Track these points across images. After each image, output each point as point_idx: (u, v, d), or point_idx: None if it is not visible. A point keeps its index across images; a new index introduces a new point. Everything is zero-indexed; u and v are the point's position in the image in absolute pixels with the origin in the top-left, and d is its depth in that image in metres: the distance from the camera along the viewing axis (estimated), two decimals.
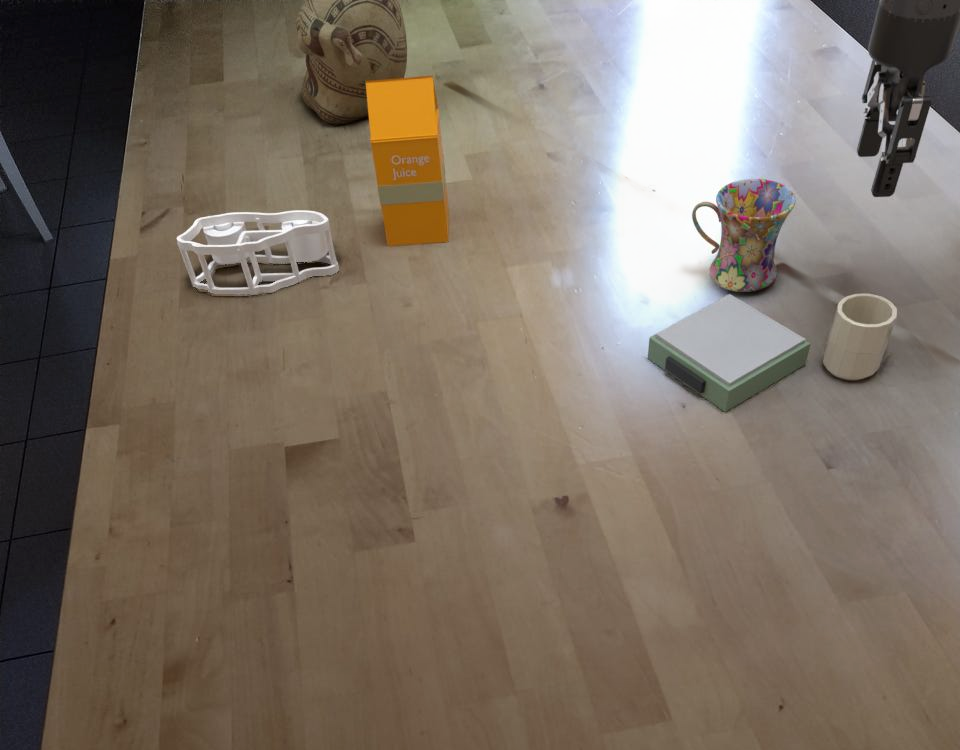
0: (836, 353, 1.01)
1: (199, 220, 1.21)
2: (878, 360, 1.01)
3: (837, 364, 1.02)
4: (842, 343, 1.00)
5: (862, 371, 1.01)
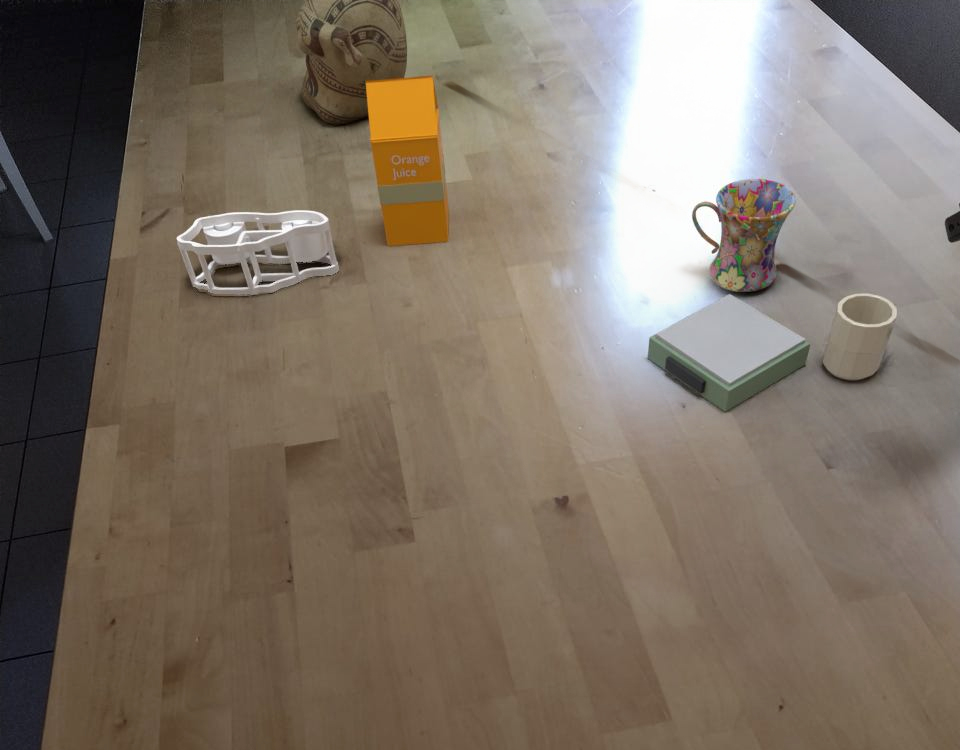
0: (836, 353, 1.01)
1: (199, 220, 1.21)
2: (878, 360, 1.01)
3: (837, 364, 1.02)
4: (842, 343, 1.00)
5: (862, 371, 1.01)
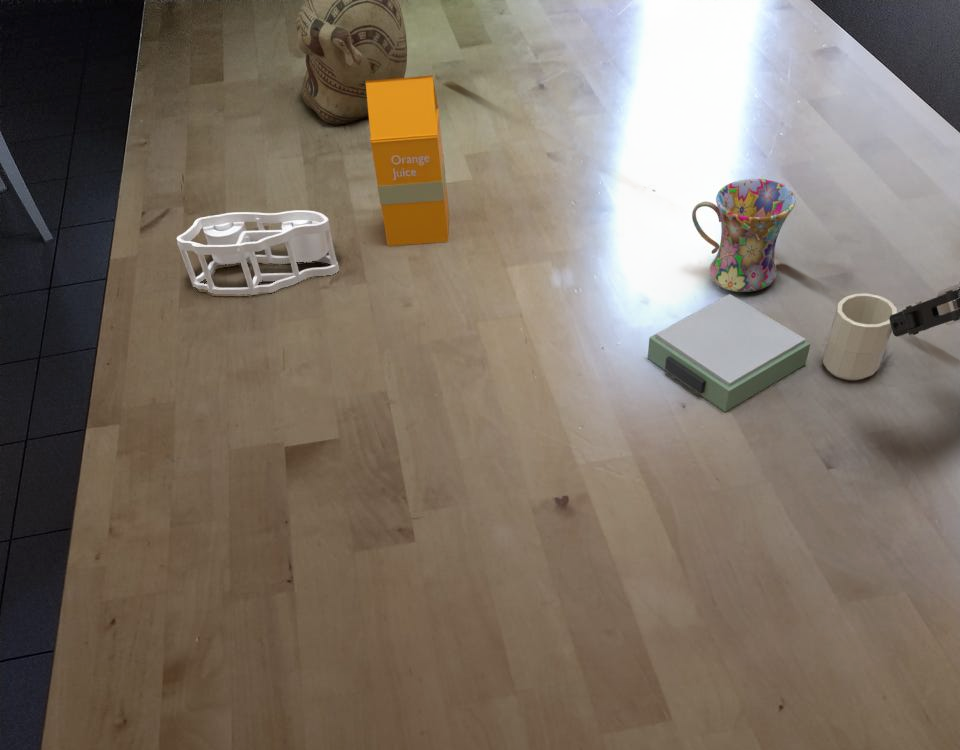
0: (836, 353, 1.01)
1: (199, 220, 1.21)
2: (878, 360, 1.01)
3: (837, 364, 1.02)
4: (842, 343, 1.00)
5: (862, 371, 1.01)
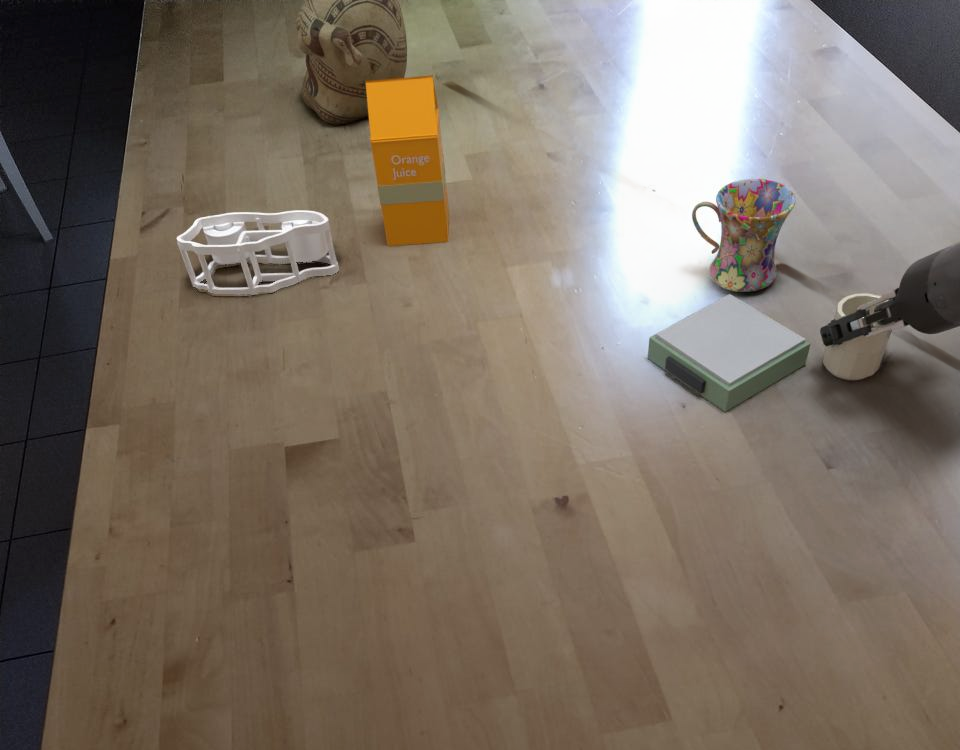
0: (836, 353, 1.01)
1: (199, 220, 1.21)
2: (878, 360, 1.01)
3: (837, 364, 1.02)
4: None
5: (862, 371, 1.01)
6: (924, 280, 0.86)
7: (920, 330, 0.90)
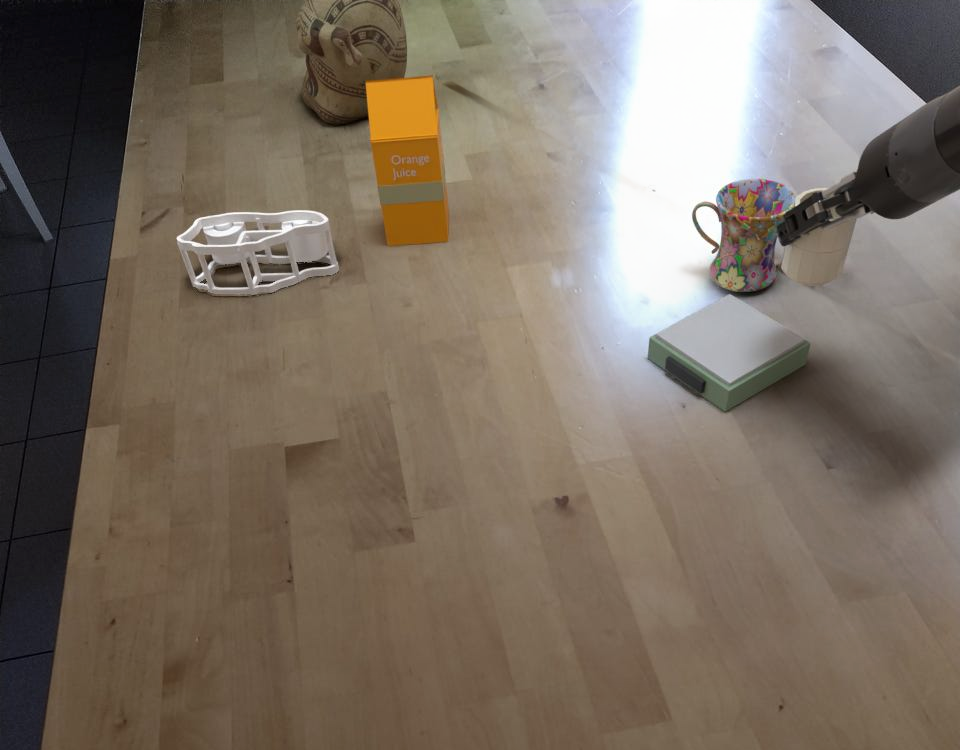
0: (794, 254, 0.92)
1: (199, 220, 1.21)
2: (840, 261, 0.92)
3: (796, 267, 0.93)
4: (800, 241, 0.91)
5: (823, 274, 0.92)
6: (885, 152, 0.77)
7: (882, 214, 0.81)
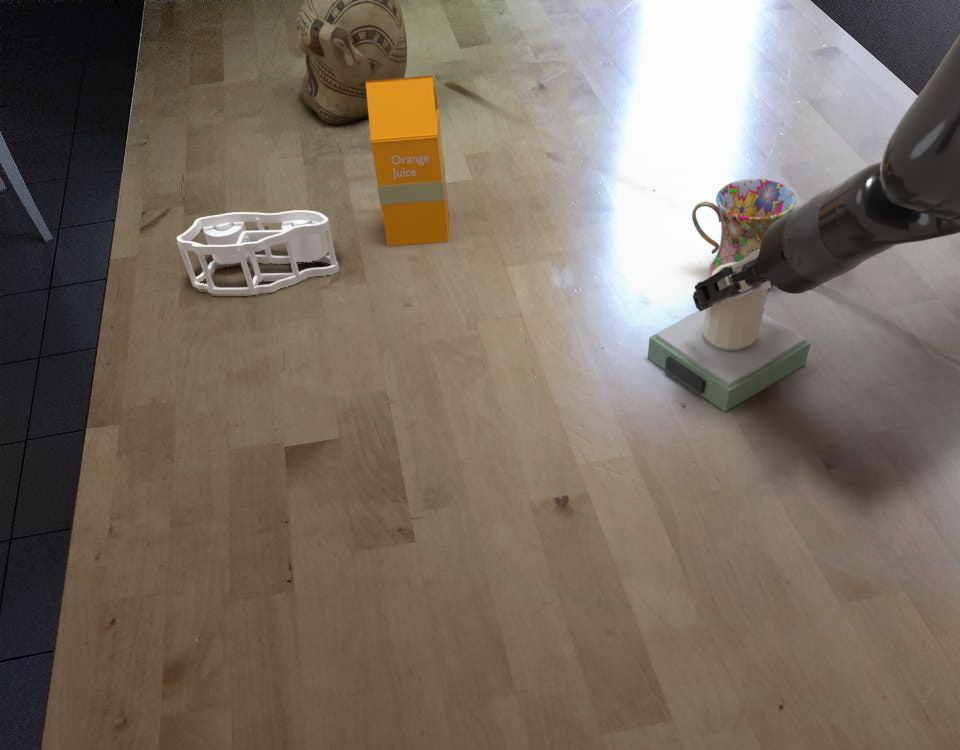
0: (712, 322, 1.00)
1: (199, 220, 1.21)
2: (754, 329, 1.00)
3: (714, 333, 1.01)
4: (716, 312, 0.99)
5: (739, 340, 1.01)
6: (780, 237, 0.84)
7: (783, 289, 0.88)
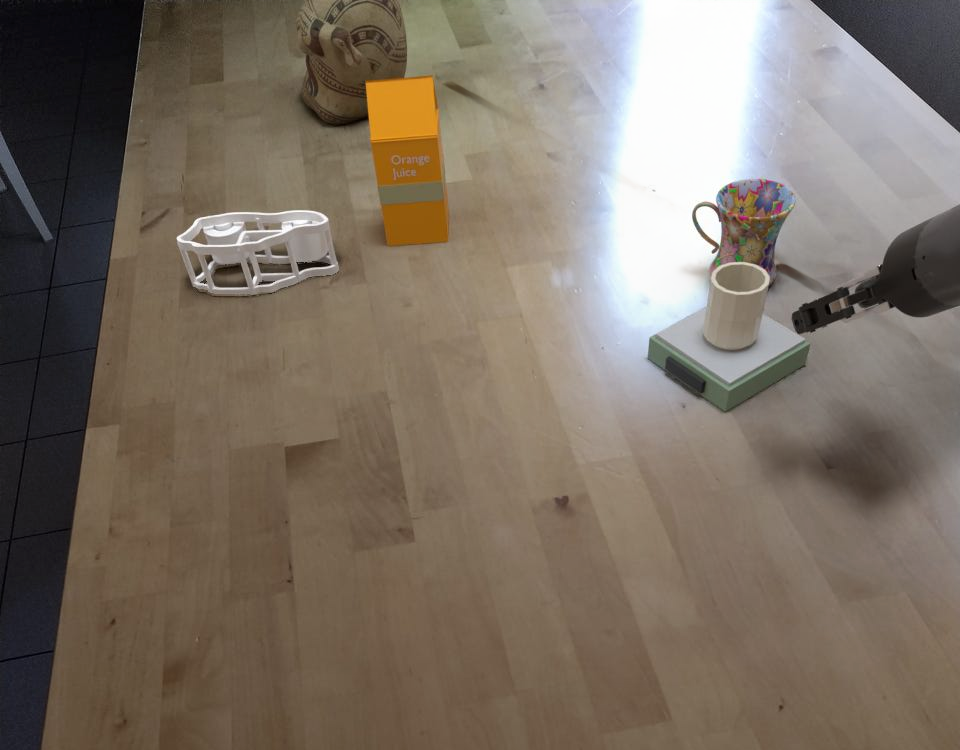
0: (712, 322, 1.00)
1: (199, 220, 1.21)
2: (754, 329, 1.00)
3: (714, 333, 1.01)
4: (716, 312, 0.99)
5: (739, 340, 1.01)
6: (911, 253, 0.73)
7: (907, 313, 0.77)
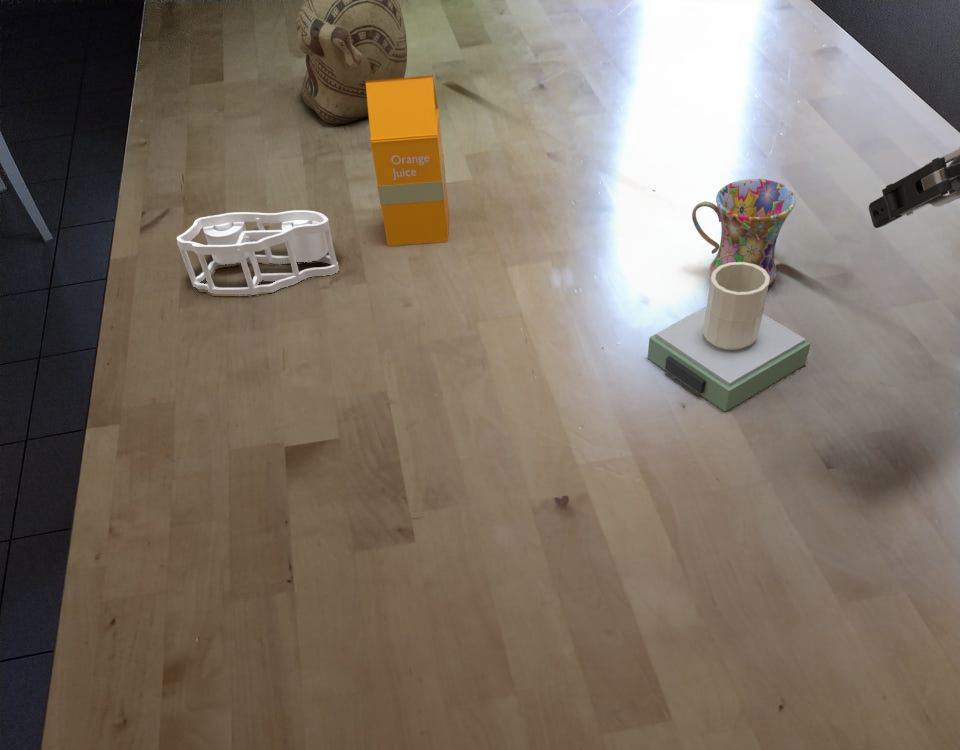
0: (712, 322, 1.00)
1: (199, 220, 1.21)
2: (754, 329, 1.00)
3: (714, 333, 1.01)
4: (716, 312, 0.99)
5: (739, 340, 1.01)
6: None
7: None
